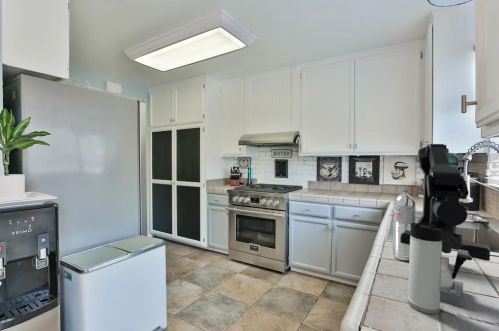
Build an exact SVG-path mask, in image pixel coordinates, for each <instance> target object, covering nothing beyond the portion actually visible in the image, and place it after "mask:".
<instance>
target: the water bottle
mask: <svg viewBox="0 0 499 331" xmlns="http://www.w3.org/2000/svg"><path fill="white" fill-rule="evenodd" d="M408 193H409V190H408V189H401V193H400V194H398V196H396V197H395V198H394V200H393V206H394V207H393V226H392V227H393V229H392V231H393V232H392V233H393V234H392V238H393V239H392V256H393V258H394V259H397V260H399V261H403V262H409V258H410V245H408V244H403V243H401V242H400V236H401V234H402V233H403V232H404V231H406V230H408V231H411V226H410V224H411V223H416V206H417V205H416V204H417V202H416V200H415V199H414V198H413V197H412V196H411V195H410V194H408Z"/></svg>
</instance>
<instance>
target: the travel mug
mask: <svg viewBox="0 0 499 331" xmlns="http://www.w3.org/2000/svg"><path fill="white" fill-rule="evenodd" d="M410 226H411V235H410V237H411V238H410V258H409V261H408V262H409V264H408V268H409V269H408V288H407V295H408V296H407V304H408V305H409V307H411V308H412V309H414V310H416V311H418V312H420V313H423V314H428V315H437V314H438V313H440V307H441V306H440V304H441V301H440V284H441V259H442V255H443V252H442V229H437V228H434V227H433V226H429V225H424V224H418V223H417V222H415V223H411V224H410Z"/></svg>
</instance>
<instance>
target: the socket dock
mask: <svg viewBox="0 0 499 331" xmlns="http://www.w3.org/2000/svg"><path fill="white" fill-rule="evenodd" d="M463 292H464V282H461V281H457V280H455V279H453V290H452V289H447V288H444V287H440V302H445V303H447V304H450V305H453V306H457V307H459V308H461V306H462V298H463V294H464V293H463Z"/></svg>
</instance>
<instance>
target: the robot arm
mask: <svg viewBox="0 0 499 331" xmlns="http://www.w3.org/2000/svg"><path fill="white" fill-rule="evenodd" d="M416 160H417V161H416V162H417V163H419V165H418V167H419V169H420V170H421V172H422V174H423V197H422V198H423V199H422V201H423V202H422V215H421V216H420V217H419V219H417V221H416V223H418V224H424V225H429V226H433V227H434V228H437V229H442V254H443V253H444V254H451V253H452V250H455V251H457V254H456V257H455V263H454V265H453V271H452V272H453V280H455V279H456V278H457V276H458V273H459V272H460V269H461V267H462V266H463V265H464V263H465V262H466V261H472V260H473V259H476V260H480V261H481V260H482V261H487V262H489V261H490V260H491V248H490V246H489V245H488V244H487V243H483V242H482V243H481V242H475V241H472V240H471V241H468V244H466V243H463V234H460V233H459V234H458V233H457V226H460V225H461V224H463V223H465V221H466V220H467V219H468V212H467V211H468V210H467V209H466V207H465V206H464V205H463V204H461V203H460V200H467V199H468V198H467V197H468V196H469V189H468V184H467V180H465V176H464V175H462V174H461V172H460V171H459V169H458V168H457V167H454V166H452V165H451V162H450V150H449V148H448V147H447V144H444V143H429V144H426V146H425V147H422V148H419V149H418V151H417V157H416ZM410 235H411V231H408V230H406V231H404V232H403V233H402V234H401V236H400V242H401V243H403V244H408V245H410V238H411V237H410Z"/></svg>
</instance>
